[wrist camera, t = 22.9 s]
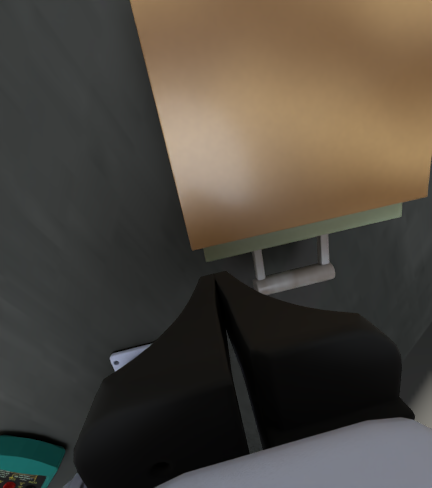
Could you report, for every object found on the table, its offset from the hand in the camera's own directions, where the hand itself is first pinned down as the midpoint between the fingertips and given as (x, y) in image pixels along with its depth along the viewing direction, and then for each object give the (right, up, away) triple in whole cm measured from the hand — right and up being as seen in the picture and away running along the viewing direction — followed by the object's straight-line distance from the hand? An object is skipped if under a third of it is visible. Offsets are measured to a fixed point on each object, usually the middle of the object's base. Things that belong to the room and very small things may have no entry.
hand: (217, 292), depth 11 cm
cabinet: (+3, +13, +7) cm, 15 cm away
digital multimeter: (-24, -25, +16) cm, 38 cm away
